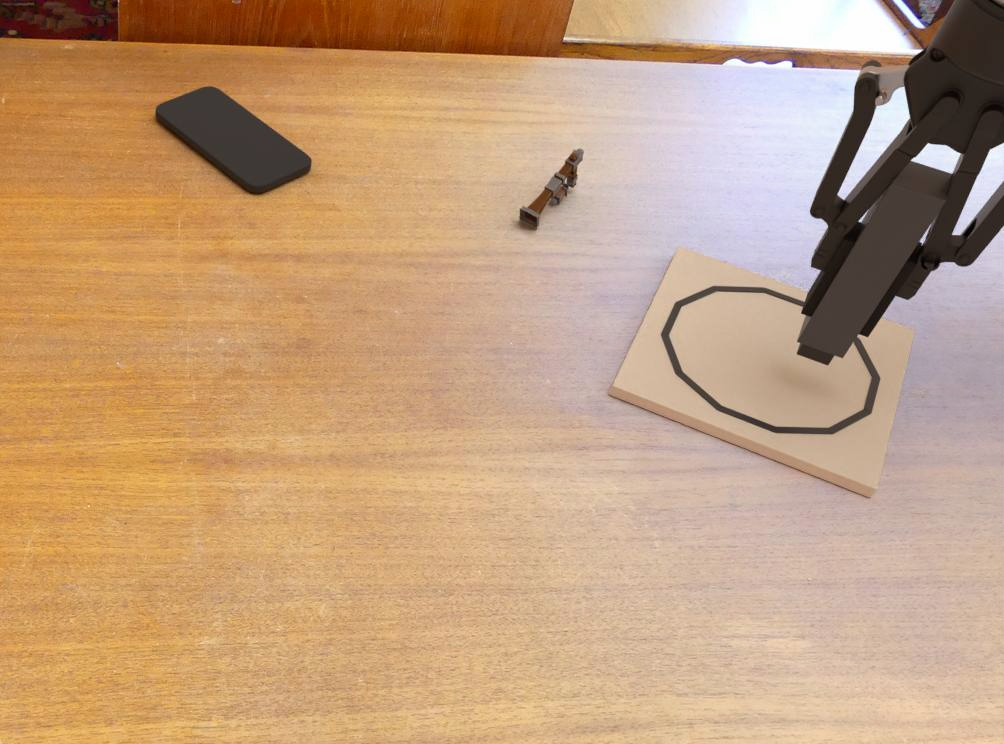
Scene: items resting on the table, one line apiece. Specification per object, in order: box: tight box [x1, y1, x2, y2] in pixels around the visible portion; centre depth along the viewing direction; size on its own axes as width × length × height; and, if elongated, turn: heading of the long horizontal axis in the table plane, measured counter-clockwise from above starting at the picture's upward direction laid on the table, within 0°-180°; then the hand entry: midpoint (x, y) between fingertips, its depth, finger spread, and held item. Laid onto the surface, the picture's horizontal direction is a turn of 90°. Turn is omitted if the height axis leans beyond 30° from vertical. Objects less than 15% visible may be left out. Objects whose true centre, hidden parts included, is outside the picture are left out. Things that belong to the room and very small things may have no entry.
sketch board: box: [608, 245, 916, 499], centre depth 88 cm, size 20×20×1 cm
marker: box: [797, 160, 952, 365], centre depth 78 cm, size 3×3×15 cm
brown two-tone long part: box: [518, 147, 585, 230], centre depth 98 cm, size 2×8×4 cm, turn 140°
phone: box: [155, 85, 313, 194], centre depth 101 cm, size 7×1×15 cm
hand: (837, 314), depth 81 cm, fingers closed on marker, 3 cm apart
